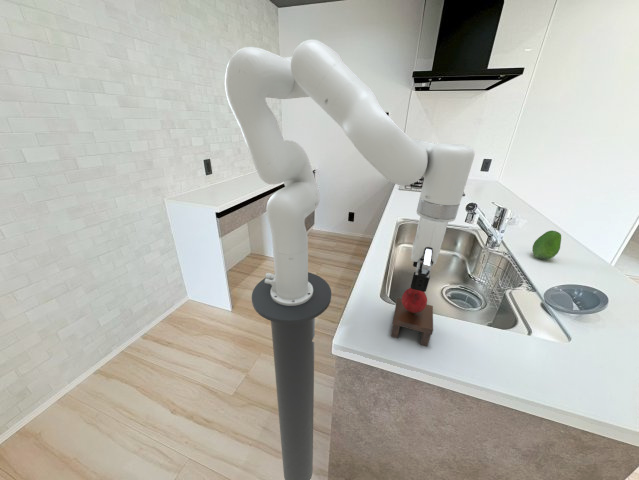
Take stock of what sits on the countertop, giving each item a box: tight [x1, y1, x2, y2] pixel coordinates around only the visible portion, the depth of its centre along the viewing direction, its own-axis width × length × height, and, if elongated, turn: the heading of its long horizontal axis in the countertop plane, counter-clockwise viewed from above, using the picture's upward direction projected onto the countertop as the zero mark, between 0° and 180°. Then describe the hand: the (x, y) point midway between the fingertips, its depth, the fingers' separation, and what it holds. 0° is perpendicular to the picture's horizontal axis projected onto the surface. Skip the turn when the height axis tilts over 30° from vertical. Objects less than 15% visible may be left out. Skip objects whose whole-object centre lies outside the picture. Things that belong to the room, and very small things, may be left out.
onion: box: [401, 287, 428, 313], centre depth 63 cm, size 6×6×8 cm
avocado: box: [531, 230, 562, 261], centre depth 99 cm, size 8×8×12 cm
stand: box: [390, 297, 434, 347], centre depth 66 cm, size 9×9×6 cm
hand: (418, 277), depth 60 cm, fingers open, 9 cm apart
